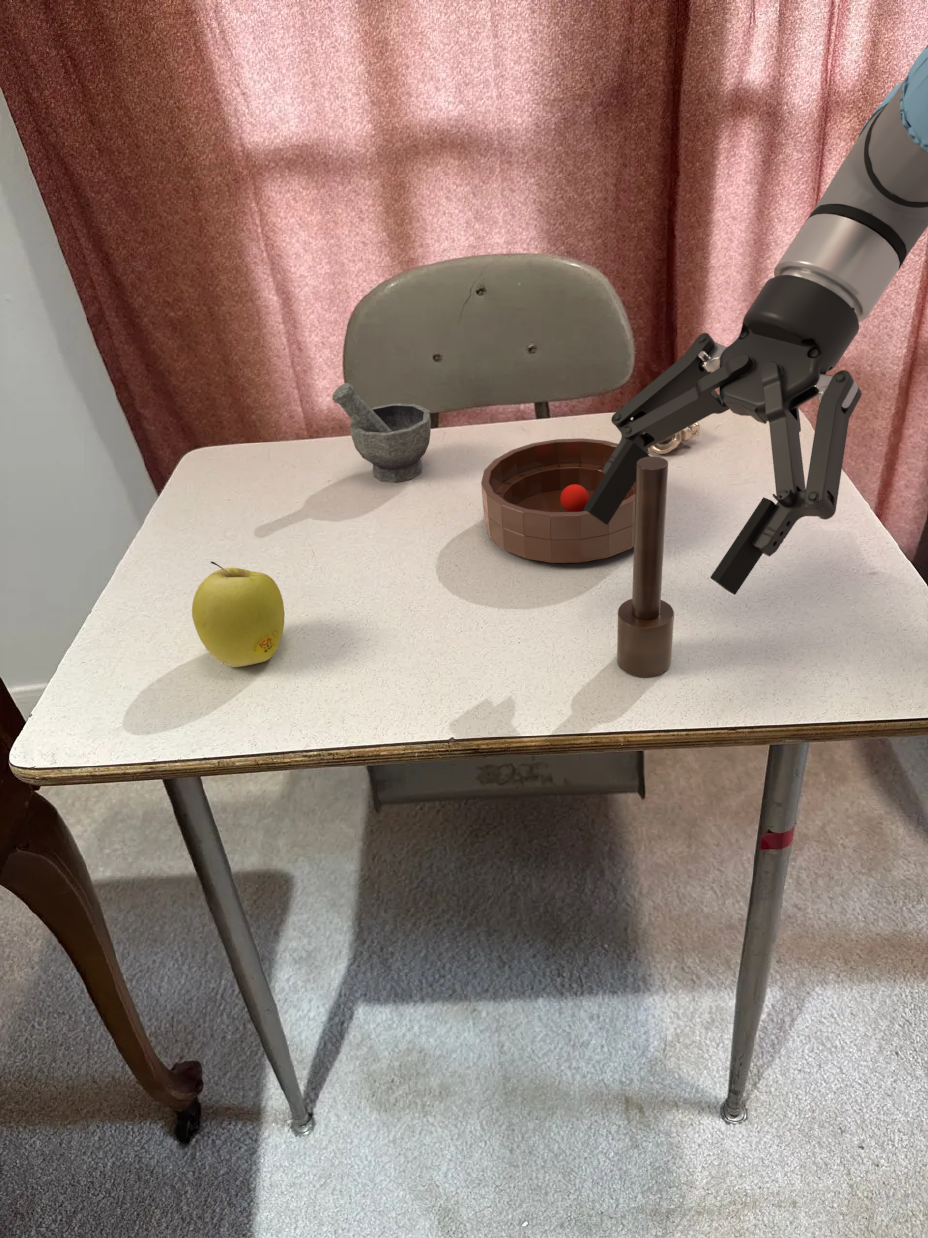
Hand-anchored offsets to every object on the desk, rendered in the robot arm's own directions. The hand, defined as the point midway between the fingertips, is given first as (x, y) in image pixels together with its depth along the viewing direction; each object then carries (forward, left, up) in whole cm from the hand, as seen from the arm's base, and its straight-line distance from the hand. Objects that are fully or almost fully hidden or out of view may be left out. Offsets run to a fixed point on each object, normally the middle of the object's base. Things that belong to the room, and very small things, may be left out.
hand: (653, 549), depth 64 cm
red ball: (+25, +7, -8) cm, 27 cm away
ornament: (+43, -5, -11) cm, 45 cm away
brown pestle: (0, 0, -11) cm, 11 cm away
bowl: (+23, +7, -11) cm, 26 cm away
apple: (+1, +35, -11) cm, 37 cm away
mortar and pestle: (+37, +29, -11) cm, 48 cm away
